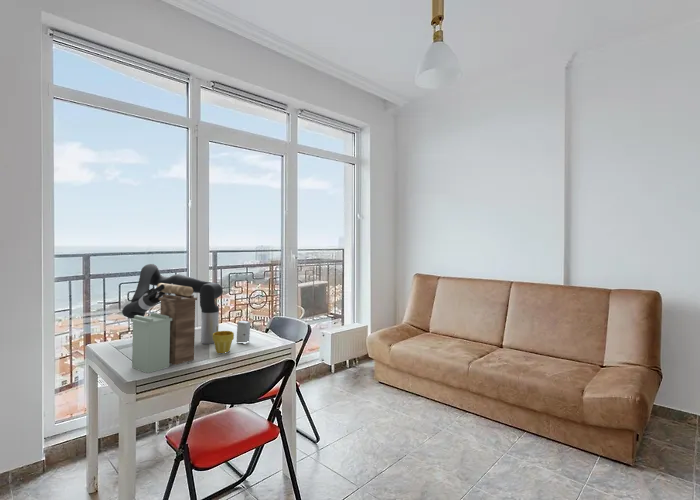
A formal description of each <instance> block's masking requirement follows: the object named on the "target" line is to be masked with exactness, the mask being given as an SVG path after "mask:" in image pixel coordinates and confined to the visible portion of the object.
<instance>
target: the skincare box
mask: <svg viewBox="0 0 700 500" xmlns="http://www.w3.org/2000/svg"><path fill="white" fill-rule="evenodd" d="M250 335H251V322H250V321H247V320H246V321H245V320H240V321H237V328H236V342H247V341H249V342H250V337H251V336H250Z"/></svg>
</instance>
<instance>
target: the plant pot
mask: <svg viewBox="0 0 700 500" xmlns="http://www.w3.org/2000/svg"><path fill="white" fill-rule="evenodd" d="M234 336H235V333H234V331H231V330H218V332H215V333H213V341H214V343H213V344H214V349H215V351H216V352H217V354H219V353H224V354H226V353H225V352H228V351H229V352H230V351H231V348H232V344H233V340H234V338H235V337H234ZM229 352H228V353H229Z"/></svg>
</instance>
